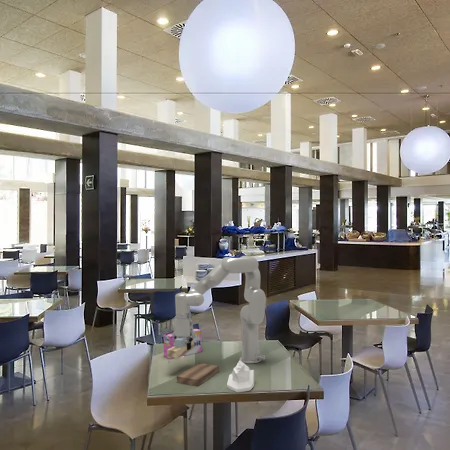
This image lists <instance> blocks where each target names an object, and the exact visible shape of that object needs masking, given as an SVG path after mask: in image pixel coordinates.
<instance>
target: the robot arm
mask: <svg viewBox="0 0 450 450" xmlns="http://www.w3.org/2000/svg"><path fill="white" fill-rule="evenodd" d="M258 261H259V260H258V259H257V258H255V257H254V256H249V255H242V256H240V257H229V256H225V257H223V258H222V259H221V260H220V261H218V263H217V264H216V265H215V266H214V267H213V268H212V269H211V271H210V272H209V273H208V274H207V275H205V276H204V277H203V278H201V279H200V280H199V281H197V282H196V284H194V286H192V288H191V289H189V291H188V292H179V293H176V294H175V296H174V298H175V299H174V301H175V319H174V324H173V326H174V327H173V328H174V329H173V331H172V332H173V333H172V336H173V337H174V338H175V339H177V338H181V337H186V339H187V342H188V343H187V350H190V349H191V342H192V340H193V339H194V338H195V337H196V335H195V334H194V331H193V328H194V324H193V320H192V318H191V317H192V314H191V312H190V307H200V306H201V305H203V304H204V301H205V297H204V294H205V293H206V292H208V291H209V290H211V289H213V288H215V287H216V288H217V287H218V286H219V285H220V284H221V283H222V282H223V281H224V280H225V279H226V278H227V277H228V275H229V274H244V275H245V285H244V293H243V296H244V300H245V301H246V302H247V303H248V304H246V305H244V306H242V308H241V310H240V312H239V313H240V315H239V317H240V321H241V356H240V357H239V361H240V360H241V361H242V362H243V363H244V364H257V363H260V362H262V360H264V361H265V360H266V355H264V354H261V351H260V350H259V348H260V347H259V325H261V323H263V321H264V318H265V312H266V305H267V304H266V303H267V297H266V294H265V291H264V290H263V289H261V271H260V270H259V266H260V265H259V262H258ZM191 336H192V338H191Z"/></svg>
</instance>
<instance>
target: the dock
mask: <svg viewBox="0 0 450 450" xmlns="http://www.w3.org/2000/svg"><path fill="white" fill-rule="evenodd" d="M219 372H220V367H219V365H215V364H207V363H202V362H199V363H196V364H195V365H193V366H192V367H190V368H188V369H187V370H185V371H183V372H182V373H180V374H178V375H177V376H176V383H178V384H184V385H191V386H195V387H199V386H201V385H202V384H203V383H205V382H206V381H207V380H210V378H212V377H213V376H215V375H216V374H218V373H219Z"/></svg>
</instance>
